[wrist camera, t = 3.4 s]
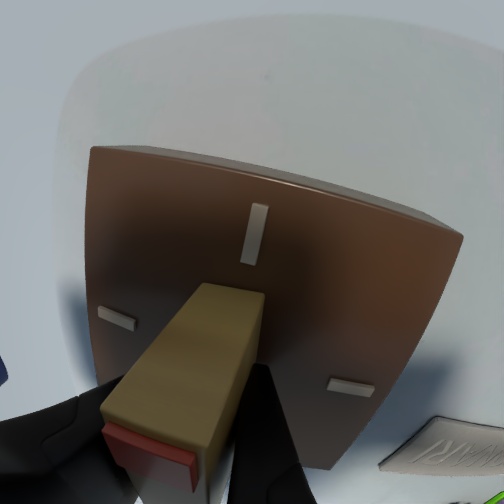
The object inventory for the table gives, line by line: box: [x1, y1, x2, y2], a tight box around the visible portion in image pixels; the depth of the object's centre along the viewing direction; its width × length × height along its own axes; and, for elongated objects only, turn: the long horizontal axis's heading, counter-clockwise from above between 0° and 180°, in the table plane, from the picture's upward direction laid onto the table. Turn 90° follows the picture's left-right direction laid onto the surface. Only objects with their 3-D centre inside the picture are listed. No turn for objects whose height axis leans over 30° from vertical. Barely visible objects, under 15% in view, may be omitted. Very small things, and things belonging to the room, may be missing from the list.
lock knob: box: [100, 283, 265, 504], centre depth 6 cm, size 4×2×5 cm, turn 174°
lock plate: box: [85, 146, 464, 470], centre depth 9 cm, size 10×10×3 cm
